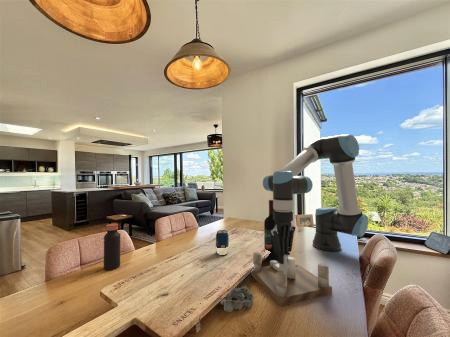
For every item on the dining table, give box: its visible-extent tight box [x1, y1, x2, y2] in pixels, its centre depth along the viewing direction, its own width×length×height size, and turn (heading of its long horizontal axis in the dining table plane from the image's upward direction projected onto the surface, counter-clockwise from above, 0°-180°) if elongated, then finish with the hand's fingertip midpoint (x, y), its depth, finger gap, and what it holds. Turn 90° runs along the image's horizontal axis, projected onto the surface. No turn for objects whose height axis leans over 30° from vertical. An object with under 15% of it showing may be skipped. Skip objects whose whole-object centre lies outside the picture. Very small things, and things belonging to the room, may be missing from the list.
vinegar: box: [103, 222, 121, 271], centre depth 96 cm, size 7×7×20 cm
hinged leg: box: [269, 256, 296, 279], centre depth 85 cm, size 13×4×7 cm, turn 27°
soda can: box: [215, 229, 230, 248], centre depth 112 cm, size 7×7×12 cm
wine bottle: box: [263, 199, 279, 263], centre depth 104 cm, size 8×8×30 cm
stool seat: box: [250, 251, 333, 307], centre depth 82 cm, size 23×23×10 cm
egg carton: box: [220, 285, 255, 313], centre depth 69 cm, size 11×8×4 cm
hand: (283, 271), depth 79 cm, fingers closed
